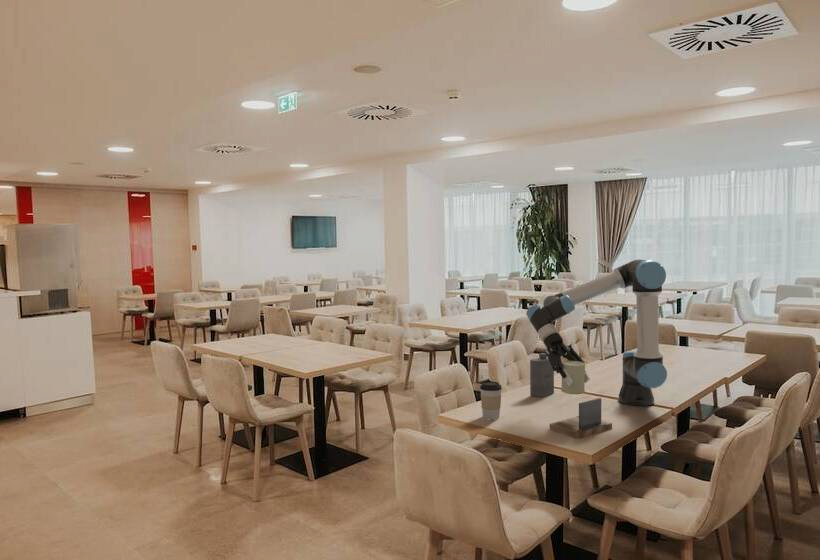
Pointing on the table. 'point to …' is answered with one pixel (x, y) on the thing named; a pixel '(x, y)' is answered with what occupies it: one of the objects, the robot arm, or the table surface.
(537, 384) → the flask
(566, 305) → the robot arm
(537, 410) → the table surface
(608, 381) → the table surface
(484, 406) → the coffee cup
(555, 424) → the shelf board
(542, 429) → the table surface
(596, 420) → the bookend
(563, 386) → the can
